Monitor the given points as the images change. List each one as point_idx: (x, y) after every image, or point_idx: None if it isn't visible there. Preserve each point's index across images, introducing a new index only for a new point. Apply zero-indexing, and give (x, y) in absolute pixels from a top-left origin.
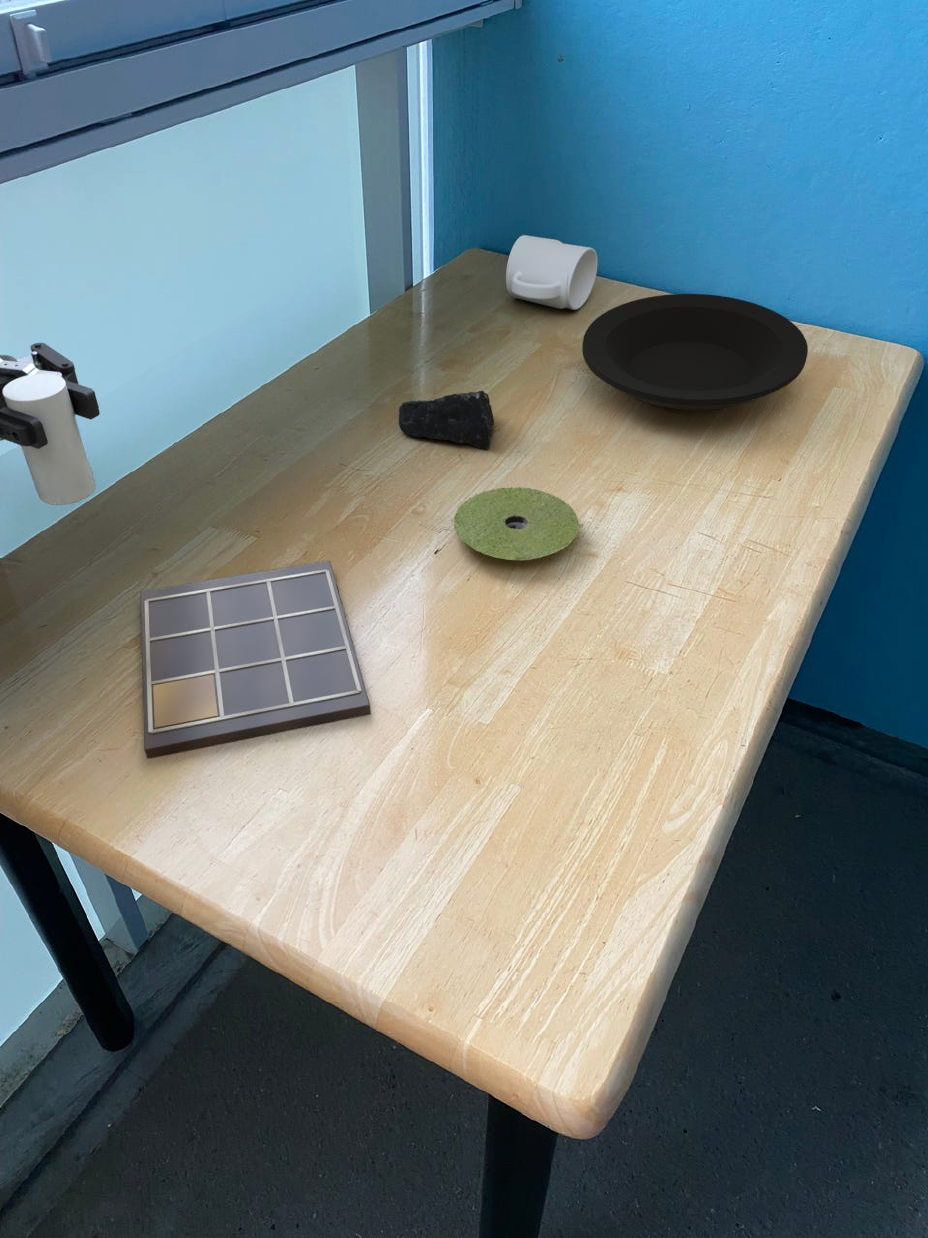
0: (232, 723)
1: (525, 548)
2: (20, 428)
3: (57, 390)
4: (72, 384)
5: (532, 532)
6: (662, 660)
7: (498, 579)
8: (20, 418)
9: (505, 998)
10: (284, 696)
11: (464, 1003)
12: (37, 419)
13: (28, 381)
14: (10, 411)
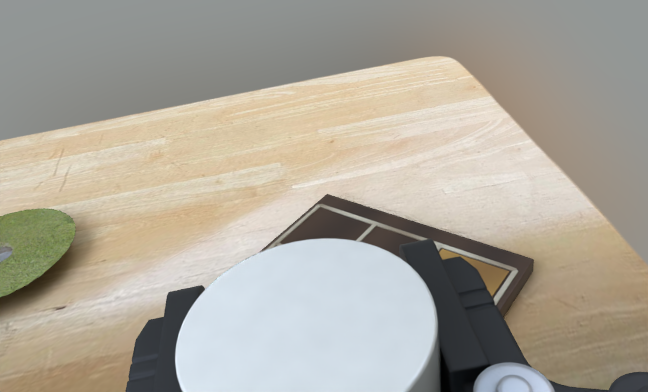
0: (436, 236)
1: (49, 226)
2: (465, 263)
3: (272, 254)
4: (160, 360)
5: (16, 236)
6: (152, 143)
7: (92, 245)
8: (444, 270)
9: (439, 79)
10: (372, 234)
11: (458, 83)
12: (404, 244)
13: (286, 372)
14: (449, 330)
